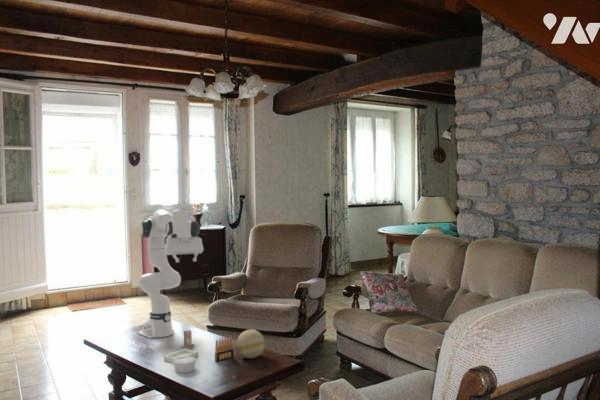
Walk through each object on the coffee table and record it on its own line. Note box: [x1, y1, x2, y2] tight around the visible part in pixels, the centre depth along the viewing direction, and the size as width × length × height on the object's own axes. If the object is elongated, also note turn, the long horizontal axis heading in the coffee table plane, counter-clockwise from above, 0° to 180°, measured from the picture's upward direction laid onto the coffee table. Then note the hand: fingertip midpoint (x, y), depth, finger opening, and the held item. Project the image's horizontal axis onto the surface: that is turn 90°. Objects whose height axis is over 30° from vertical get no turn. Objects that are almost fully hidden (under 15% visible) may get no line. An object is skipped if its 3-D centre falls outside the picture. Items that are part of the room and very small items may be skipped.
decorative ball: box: [236, 328, 266, 359], centre depth 275 cm, size 15×15×15 cm
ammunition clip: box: [214, 335, 235, 364], centre depth 272 cm, size 11×2×12 cm, turn 130°
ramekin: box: [172, 356, 197, 374], centre depth 259 cm, size 11×11×5 cm
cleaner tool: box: [180, 329, 195, 350], centre depth 292 cm, size 3×7×10 cm, turn 147°
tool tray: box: [163, 349, 199, 364], centre depth 276 cm, size 11×15×2 cm
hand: (186, 261), depth 270 cm, fingers open, 8 cm apart
